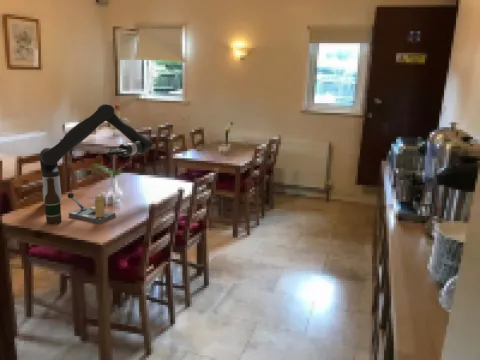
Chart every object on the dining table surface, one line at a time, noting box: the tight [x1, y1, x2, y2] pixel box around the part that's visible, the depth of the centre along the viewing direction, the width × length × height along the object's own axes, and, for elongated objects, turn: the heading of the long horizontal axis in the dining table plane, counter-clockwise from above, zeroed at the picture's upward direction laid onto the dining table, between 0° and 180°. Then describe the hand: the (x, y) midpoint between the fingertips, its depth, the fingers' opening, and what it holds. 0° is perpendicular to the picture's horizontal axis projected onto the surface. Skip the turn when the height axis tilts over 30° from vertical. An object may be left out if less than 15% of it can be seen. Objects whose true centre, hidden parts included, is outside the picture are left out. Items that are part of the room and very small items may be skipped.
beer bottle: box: [44, 178, 62, 225], centre depth 212 cm, size 8×8×24 cm
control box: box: [68, 206, 116, 224], centre depth 224 cm, size 22×12×2 cm, turn 66°
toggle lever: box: [67, 192, 85, 209], centre depth 223 cm, size 3×3×14 cm
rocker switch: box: [88, 206, 95, 212], centre depth 226 cm, size 4×4×2 cm
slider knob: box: [94, 195, 105, 217], centre depth 217 cm, size 4×4×11 cm
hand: (108, 154), depth 232 cm, fingers closed
